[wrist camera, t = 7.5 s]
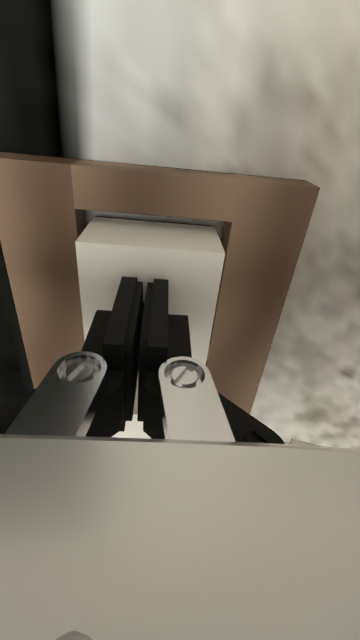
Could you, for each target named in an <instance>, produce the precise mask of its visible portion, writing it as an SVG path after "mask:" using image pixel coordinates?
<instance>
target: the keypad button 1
mask: <svg viewBox="0 0 360 640" xmlns="http://www.w3.org/2000/svg"><path fill="white" fill-rule="evenodd" d="M75 246H76V256H77V267H78V277H79V288H80V298H81V309H82V319H83V330H84V340H85V339H86V337H87V334H88V331H89V329H90V326H91V323H92V321H93V318H94V315H95V313H96V311H97V310H108V311H112V308H113V305H114V301H115V298H116V295H117V291H118V288H119V284H120V281H121V278H122V276H123V277H137V280H138V282H143V305H142V321H143V313H144V305H145V298H146V290H147V283H148V282H153V281H154V279H167V280H169V292H168V314H174V315H188V320H189V331H190V342H191V353H192V358H194V359H197V360H199V361H200V362H202V363H203V364H204V365H206V360H207V354H208V348H209V343H210V337H211V331H212V326H213V320H214V314H215V309H216V303H217V297H218V292H219V286H220V280H221V275H222V269H223V263H224V258H225V251H224V249H223V246H222V244H221V241H220V238H219V236H218V233H217V231H216V228H215V227H212V226H200V225H187V224H175V223H163V222H151V221H139V220H127V219H115V218H103V217H93V219H92V220H91V221H90V223H89V224H88V225H87V227H86V228H85V229H84V231H83V232H82V233H81V235H80V236H79V237H78V239H77V240H76V241H75Z"/></svg>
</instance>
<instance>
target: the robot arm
mask: <svg viewBox="0 0 360 640" xmlns="http://www.w3.org/2000/svg"><path fill="white" fill-rule="evenodd" d="M168 292H169V280H167V279H154V281H153V282H148V283H147V290H146V298H145V305H144V313H143V321H142V305H143V282H138V280H137V277H123V276H122V278H121V281H120V284H119V288H118V291H117V295H116V298H115V301H114V305H113V308H112V311H108V310H97V311H96V313H95V315H94V318H93V321H92V323H91V326H90V329H89V331H88V334H87V337H86V339H85V342H84V345H83V348H82V350H81V351H80V352H73V353H70V354H67V355H65V356H63V357H61V358H60V359H58V360H57V361H56V362H55V363H54V364H53V366H52V367H51V369H50V370H49V371H48V373H47V374H46V376H45V377H44V379H43V380H42V381H41V383H40V384H39V386H38V387H37V388H36V389H34V390H32V391H30V392H28V393H26V394H24V395H22V396H20V397H18V398H16V399H14V400H12V401H10V402H7V403H5V404H3V405H1V406H0V640H360V450H355V449H348V448H336V447H324V446H319V445H314V444H310V443H306V442H302V441H297V440H293V439H291V441H290V443H287V442H283V440H282V439H281V437H279V436H278V435H277V434H276V433H275V432H274V431H272V430H271V429H270V428H268V427H267V426H265V425H264V424H262V423H261V422H260V421H258V420H257V419H255V418H254V417H252V416H251V415H250V414H248V413H247V412H245V411H244V410H243V409H241V408H240V407H238V406H237V405H235V404H234V403H233V402H231V401H230V400H228V399H227V398H225V397H224V396H223V395H221V394H220V393H218V392H217V390H216V387H215V384H214V382H213V379H212V376H211V373H210V371H209V369H208V368H207V366H206V365H204V364H203V363H202V362H200V361H199V360H197V359H194V358H192V353H191V342H190V331H189V320H188V315H174V314H168ZM137 378H138V414H137V421H141V422H143V431H144V432H145V433H146V434H147V435H148V436H149V437H150V438H152V439H145V438H116V437H112V436H113V435H115V434H116V433H118V432H119V431H121V432H124V430H125V423H126V421H132V419H133V411H134V402H135V394H136V386H137Z"/></svg>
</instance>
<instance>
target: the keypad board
mask: <svg viewBox="0 0 360 640" xmlns="http://www.w3.org/2000/svg"><path fill="white" fill-rule="evenodd" d="M319 189H320V188H319V187H317V186H315V185H313V184H311V183H309V182H307V181H304V180H294V179H283V178H273V177H262V176H252V175H241V174H230V173H220V172H209V171H199V170H188V169H178V168H167V167H157V166H146V165H135V164H125V163H114V162H104V161H93V160H83V159H72V158H61V157H51V156H40V155H30V154H19V153H9V152H0V241H1V246H2V250H3V255H4V259H5V263H6V268H7V272H8V276H9V281H10V285H11V290H12V294H13V298H14V303H15V307H16V311H17V316H18V320H19V325H20V329H21V333H22V338H23V342H24V347H25V351H26V355H27V360H28V364H29V368H30V373H31V377H32V382H33V386H34V389H36V388H37V387H38V386H39V384H40V383H41V381H42V380H43V379H44V377H45V376H46V374H47V373H48V371H49V370H50V369H51V367H52V366H53V364H54V363H55V362H56V361H57V360H58V359H60V358H61V357H63V356H65V355H67V354H70V353H73V352H80V351H81V350H82V348H83V345H84V342H85V340H84V330H83V319H82V309H81V298H80V288H79V277H78V267H77V256H76V246H75V241H76V240H77V239H78V237H79V236H80V235H81V233H82V232H83V231H84V229H85V228H86V222H85V210H95V211H107V212H119V213H131V214H143V215H155V216H167V217H178V218H190V219H202V220H214V221H225V225H224V231H223V237H222V243H221V244H222V246H223V249H224V251H225V258H224V263H223V269H222V275H221V280H220V286H219V292H218V297H217V303H216V309H215V314H214V320H213V326H212V331H211V337H210V343H209V348H208V354H207V360H206V366H207V368H208V369H209V371H210V373H211V376H212V379H213V382H214V384H215V387H216V390H217V392H218V393H220V394H221V395H223V396H224V397H225V398H227V399H228V400H230V401H231V402H233V403H234V404H235V405H237V406H238V407H240V408H241V409H243V410H244V411H245V412H247V413H248V414H250V411H251V408H252V405H253V402H254V398H255V395H256V392H257V389H258V385H259V382H260V379H261V376H262V373H263V369H264V366H265V363H266V360H267V357H268V353H269V350H270V347H271V344H272V340H273V337H274V334H275V331H276V328H277V324H278V321H279V318H280V315H281V312H282V308H283V305H284V302H285V299H286V296H287V292H288V289H289V286H290V283H291V279H292V276H293V273H294V270H295V267H296V263H297V260H298V257H299V254H300V251H301V247H302V244H303V241H304V238H305V234H306V231H307V228H308V225H309V222H310V218H311V215H312V212H313V209H314V206H315V202H316V199H317V196H318V193H319Z"/></svg>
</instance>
